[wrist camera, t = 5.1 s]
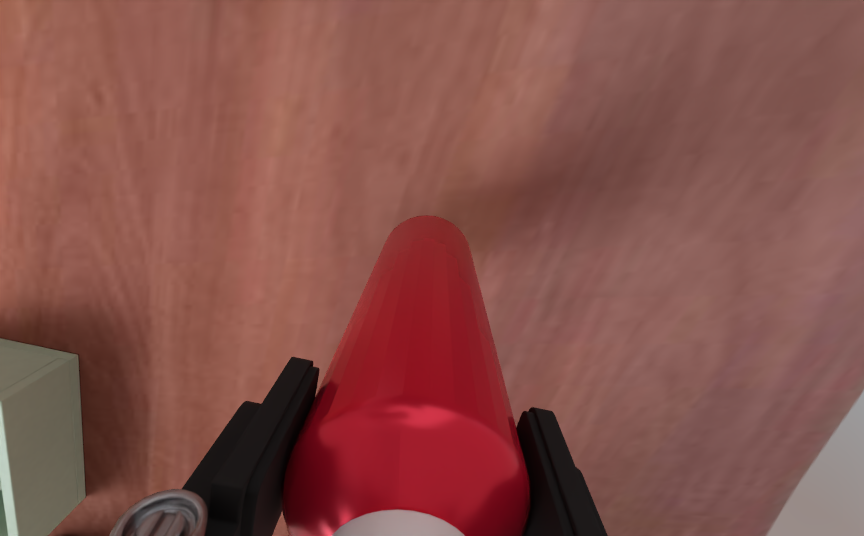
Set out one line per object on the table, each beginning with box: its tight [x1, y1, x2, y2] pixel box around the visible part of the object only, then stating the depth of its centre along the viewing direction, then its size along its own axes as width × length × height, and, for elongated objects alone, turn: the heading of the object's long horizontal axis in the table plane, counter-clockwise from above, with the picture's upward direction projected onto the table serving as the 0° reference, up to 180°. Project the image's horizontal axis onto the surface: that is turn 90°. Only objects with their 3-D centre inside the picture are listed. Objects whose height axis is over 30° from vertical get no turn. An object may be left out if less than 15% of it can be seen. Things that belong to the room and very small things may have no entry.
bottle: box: [281, 215, 530, 536], centre depth 15 cm, size 5×5×20 cm
